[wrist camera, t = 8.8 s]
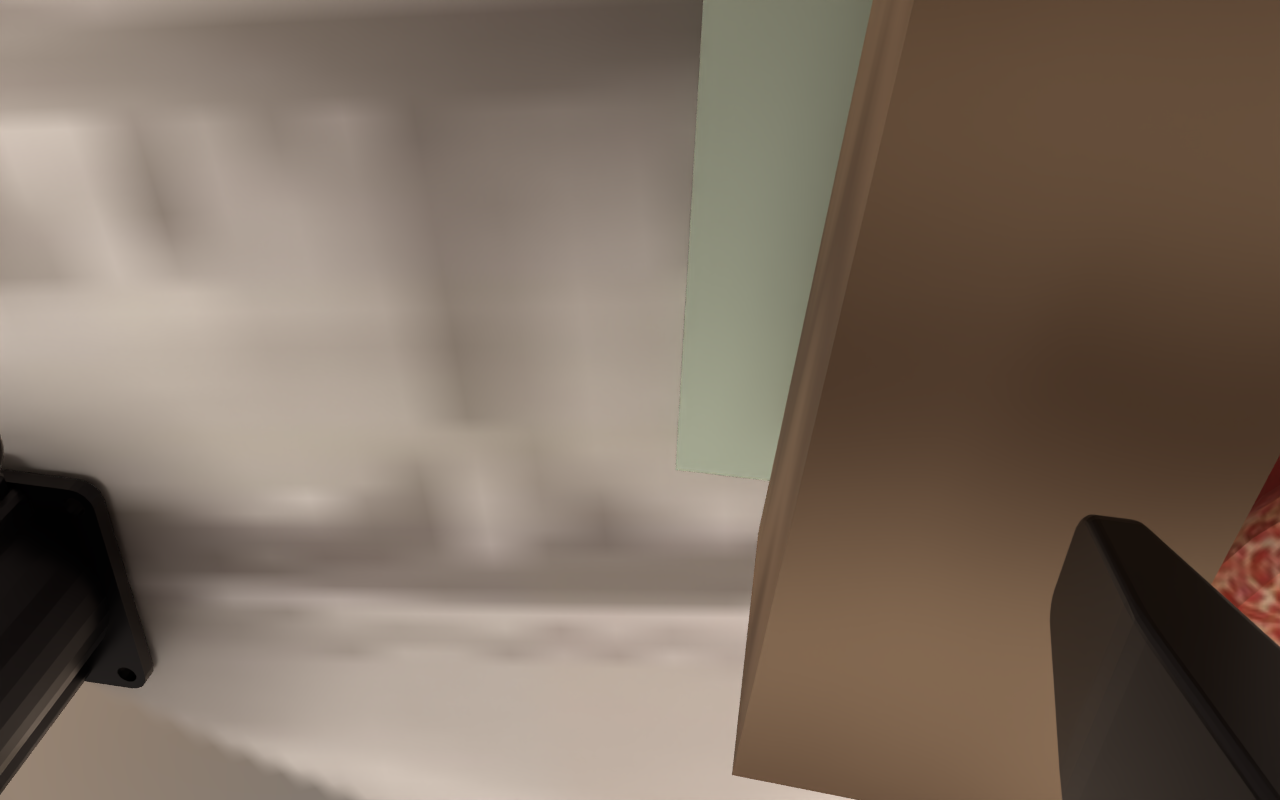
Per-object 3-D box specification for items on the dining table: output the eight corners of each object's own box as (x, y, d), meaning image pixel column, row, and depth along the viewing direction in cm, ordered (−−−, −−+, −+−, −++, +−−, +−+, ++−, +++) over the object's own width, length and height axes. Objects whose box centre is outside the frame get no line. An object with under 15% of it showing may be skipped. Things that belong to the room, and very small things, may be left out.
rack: (1139, 499, 22) (1185, 640, 19) (680, 446, 23) (653, 571, 20) (1441, -367, 14) (1604, -369, 11) (731, -390, 15) (701, -398, 12)
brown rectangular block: (1026, 581, 19) (1074, 842, 15) (758, 532, 19) (732, 774, 15) (1357, -240, 12) (1615, -180, 8) (936, -294, 12) (975, -262, 8)
